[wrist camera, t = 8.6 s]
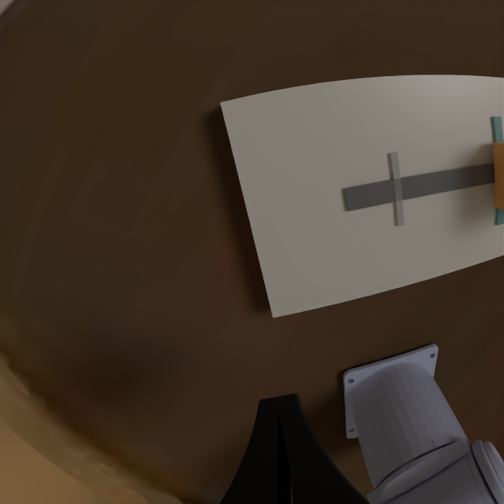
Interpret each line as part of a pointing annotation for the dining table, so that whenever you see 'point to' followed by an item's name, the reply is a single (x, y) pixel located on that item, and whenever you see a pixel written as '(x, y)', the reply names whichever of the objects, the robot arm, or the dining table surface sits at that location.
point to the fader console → (368, 183)
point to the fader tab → (499, 174)
